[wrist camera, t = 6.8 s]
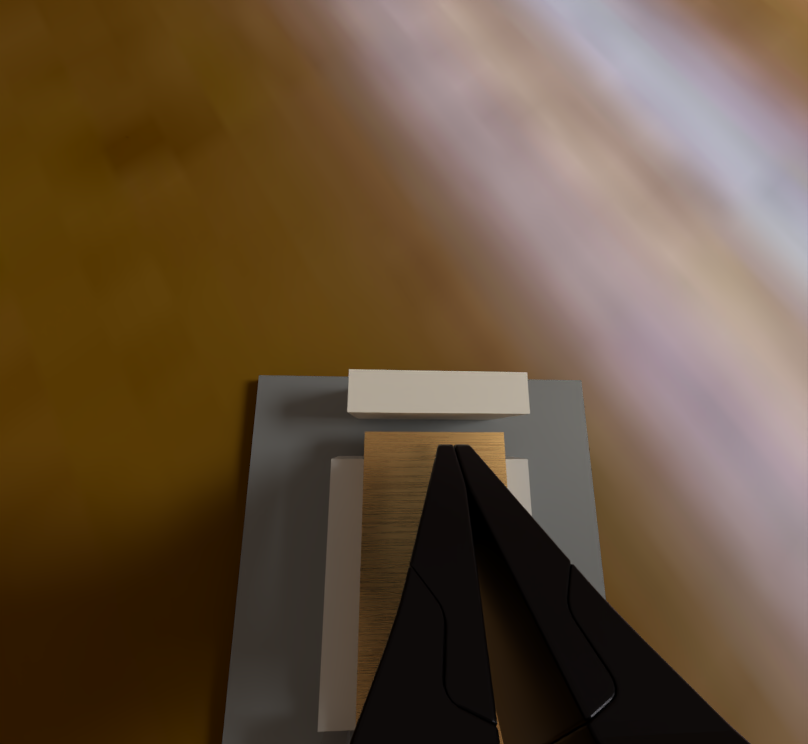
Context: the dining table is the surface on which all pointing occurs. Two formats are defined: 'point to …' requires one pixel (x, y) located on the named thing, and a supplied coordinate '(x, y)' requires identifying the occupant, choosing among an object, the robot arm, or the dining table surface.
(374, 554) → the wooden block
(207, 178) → the dining table surface
